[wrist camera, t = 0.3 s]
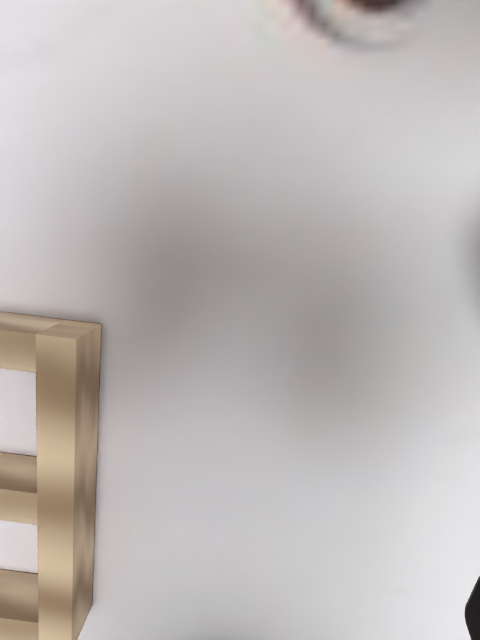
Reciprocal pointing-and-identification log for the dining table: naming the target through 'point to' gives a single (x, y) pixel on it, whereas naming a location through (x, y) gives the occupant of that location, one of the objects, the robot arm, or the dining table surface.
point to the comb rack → (53, 476)
